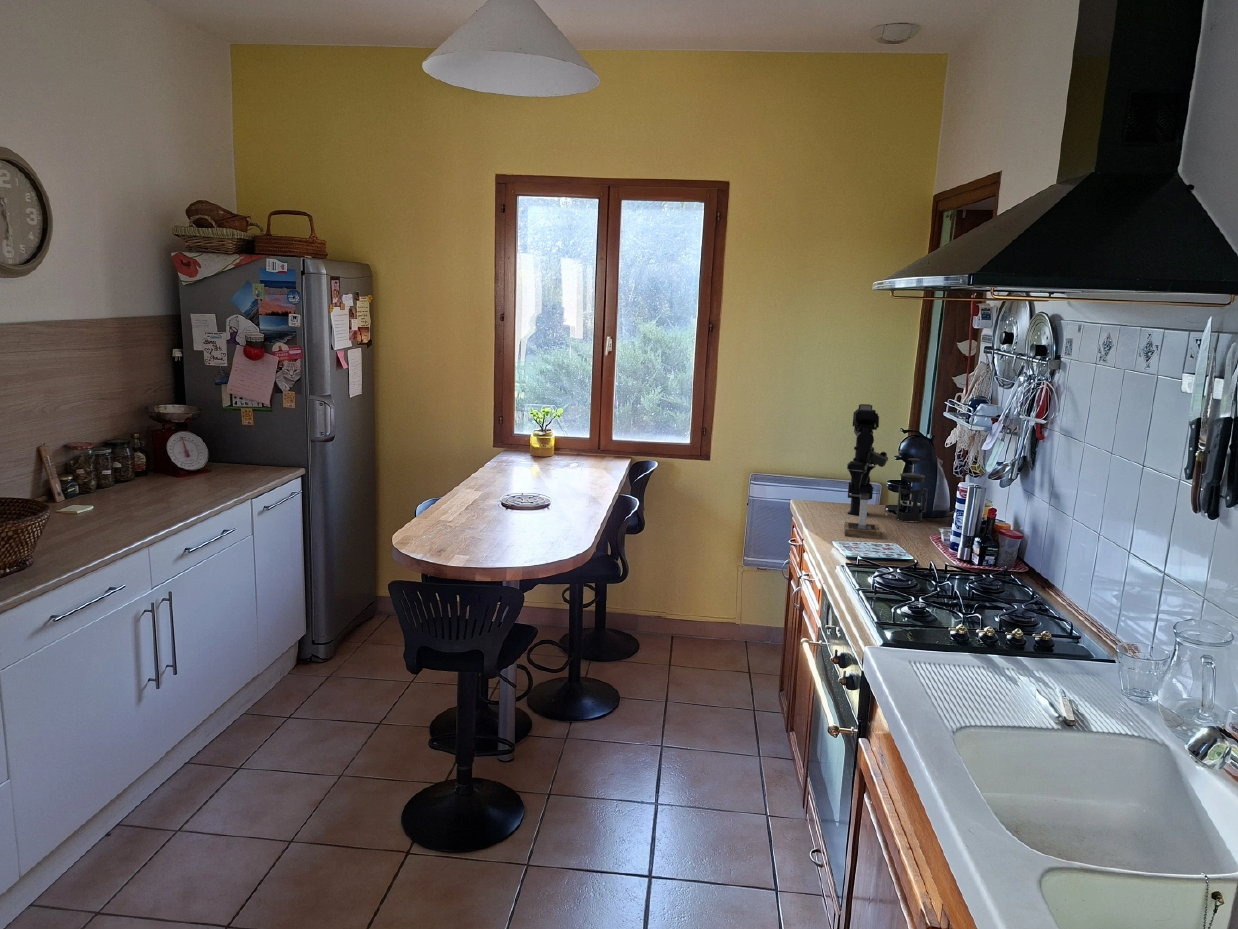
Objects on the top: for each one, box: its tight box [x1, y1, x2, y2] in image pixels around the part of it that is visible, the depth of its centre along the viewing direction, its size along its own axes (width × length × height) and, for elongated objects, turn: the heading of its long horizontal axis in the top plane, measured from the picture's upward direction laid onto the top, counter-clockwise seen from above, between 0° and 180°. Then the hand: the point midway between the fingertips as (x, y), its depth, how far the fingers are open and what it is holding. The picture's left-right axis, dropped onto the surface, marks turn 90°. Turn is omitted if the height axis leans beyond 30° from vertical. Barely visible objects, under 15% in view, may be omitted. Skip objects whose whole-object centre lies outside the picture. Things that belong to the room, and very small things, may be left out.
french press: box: [895, 457, 930, 522], centre depth 322 cm, size 12×9×23 cm
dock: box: [843, 521, 881, 540], centre depth 299 cm, size 11×11×2 cm
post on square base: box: [852, 493, 871, 530], centre depth 298 cm, size 6×6×13 cm
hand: (860, 486), depth 315 cm, fingers open, 9 cm apart
